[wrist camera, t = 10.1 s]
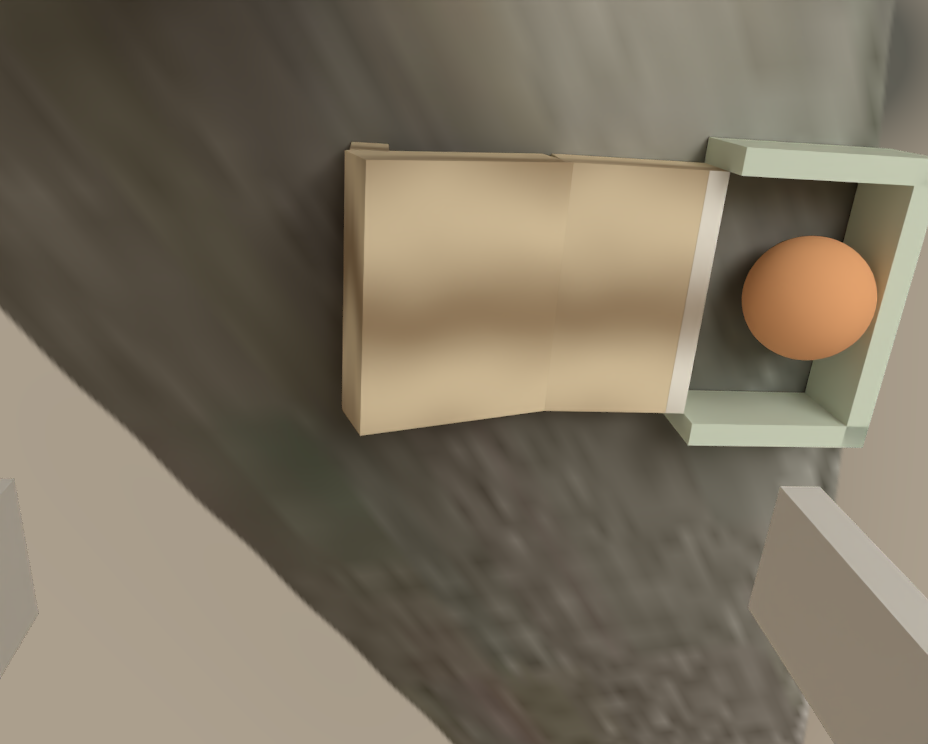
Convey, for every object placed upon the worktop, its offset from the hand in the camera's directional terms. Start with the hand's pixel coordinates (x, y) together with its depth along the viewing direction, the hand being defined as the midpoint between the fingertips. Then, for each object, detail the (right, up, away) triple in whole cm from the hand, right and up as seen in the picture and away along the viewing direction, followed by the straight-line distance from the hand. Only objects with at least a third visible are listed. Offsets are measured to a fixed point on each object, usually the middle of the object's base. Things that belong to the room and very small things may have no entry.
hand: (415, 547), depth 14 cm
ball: (+13, +7, +19) cm, 24 cm away
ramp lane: (+3, +7, +19) cm, 20 cm away
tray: (+14, +7, +20) cm, 26 cm away
